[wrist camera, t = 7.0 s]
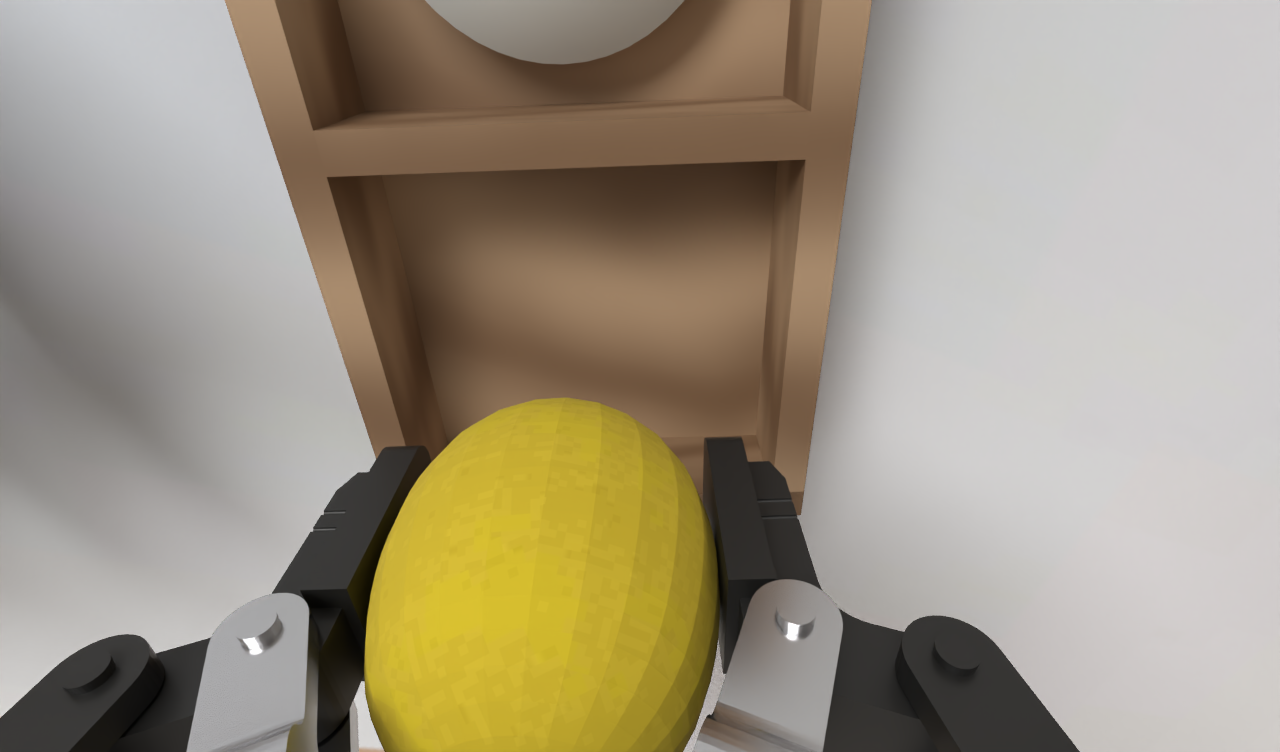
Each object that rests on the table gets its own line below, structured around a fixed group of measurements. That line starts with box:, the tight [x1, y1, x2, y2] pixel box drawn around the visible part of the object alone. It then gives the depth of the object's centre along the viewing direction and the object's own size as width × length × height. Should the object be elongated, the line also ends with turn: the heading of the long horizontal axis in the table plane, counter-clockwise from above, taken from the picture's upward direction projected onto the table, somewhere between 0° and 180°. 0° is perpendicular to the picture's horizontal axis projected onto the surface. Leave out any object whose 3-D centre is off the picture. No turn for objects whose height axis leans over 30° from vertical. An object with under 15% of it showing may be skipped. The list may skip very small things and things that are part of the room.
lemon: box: [364, 398, 720, 752], centre depth 10 cm, size 6×6×8 cm
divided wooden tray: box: [225, 0, 872, 515], centre depth 15 cm, size 23×13×4 cm, turn 2°
